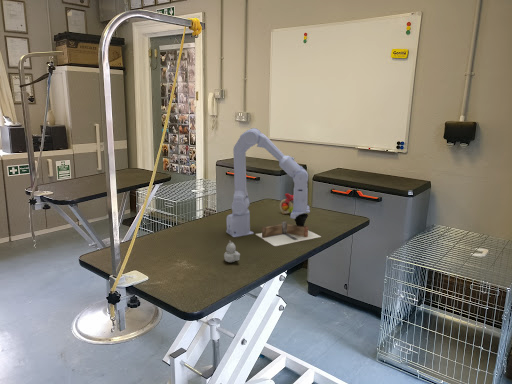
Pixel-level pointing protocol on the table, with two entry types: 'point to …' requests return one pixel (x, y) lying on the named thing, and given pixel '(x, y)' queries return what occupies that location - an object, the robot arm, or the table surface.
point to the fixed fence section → (274, 230)
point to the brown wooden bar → (297, 230)
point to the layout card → (287, 238)
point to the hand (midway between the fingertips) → (300, 231)
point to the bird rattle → (287, 204)
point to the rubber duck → (231, 253)
